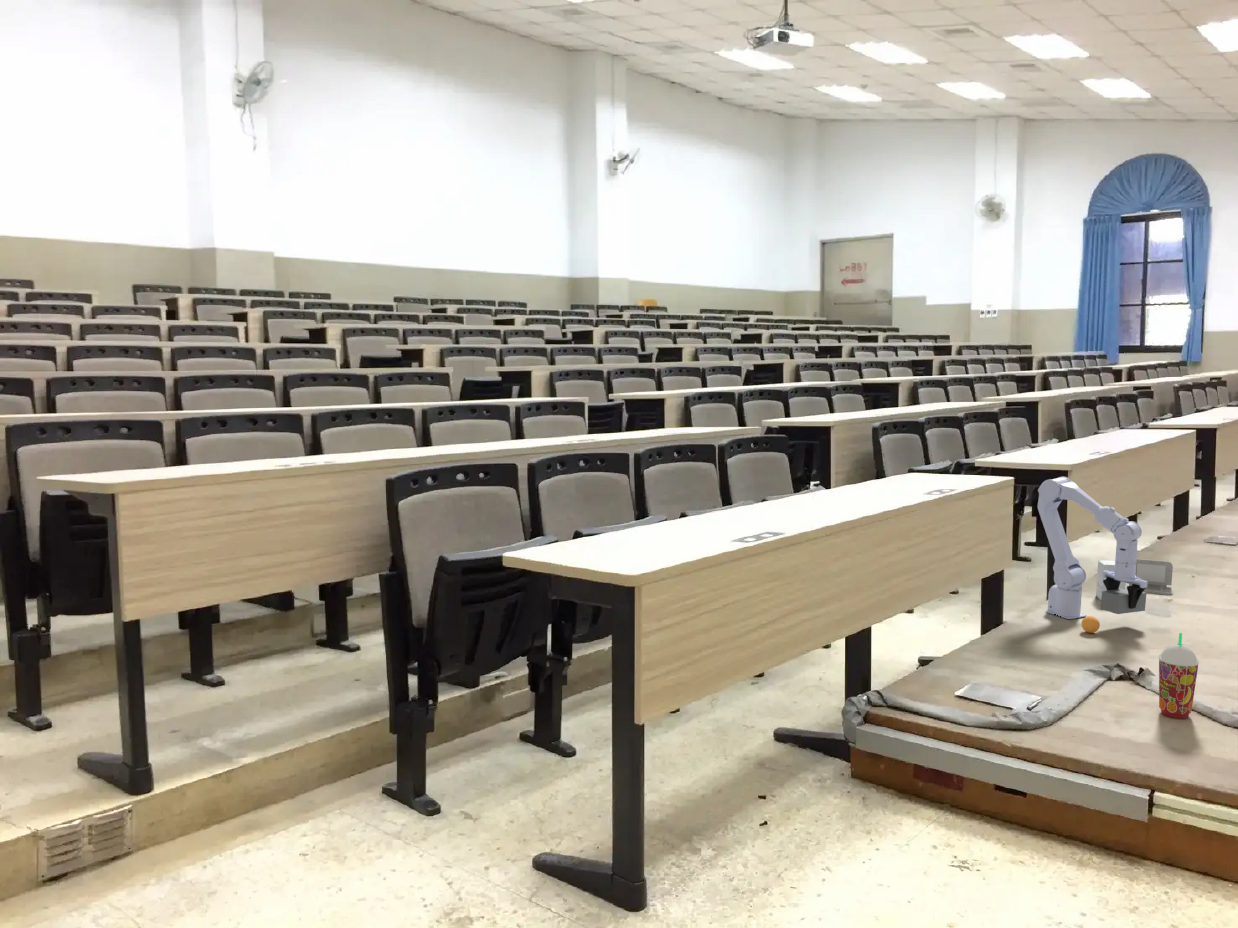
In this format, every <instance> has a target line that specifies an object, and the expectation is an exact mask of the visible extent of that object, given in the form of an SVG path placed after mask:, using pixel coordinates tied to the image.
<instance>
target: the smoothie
mask: <svg viewBox="0 0 1238 928" xmlns="http://www.w3.org/2000/svg"><path fill="white" fill-rule="evenodd" d="M1182 641H1183V633H1182V632H1179V633H1178V643H1173V644H1169V645H1168V646H1166V647H1165V648H1164V649H1163V650H1162V652H1161V653H1160V654H1159V656H1158V707H1159V709H1160V711H1161V712H1160V713H1161V714H1162V715H1164V716H1166V717H1168V718H1171V719H1177V720H1178V719H1179V720H1180V719H1182V720H1184V719H1187V718H1189V715H1190V714H1191V713H1192V710H1193V704H1194V697H1195V689H1196V684H1197V675H1198V669H1199V665H1200V661H1199V660H1198V657H1197V654H1196V653H1195V651H1193V649H1192V648H1190V647H1189V646H1187V645H1185V644H1182V643H1183V642H1182Z"/></svg>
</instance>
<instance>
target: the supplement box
mask: <svg viewBox="0 0 1238 928" xmlns="http://www.w3.org/2000/svg"><path fill="white" fill-rule="evenodd" d="M1106 570H1108V571H1112V572H1115V560H1108V559H1107V560H1106V559H1104V560H1103V559H1102V560H1100V559H1098V560H1097V570H1096V571H1097V573H1096V575H1097V576H1096V589H1095V591H1096V593H1095V597H1097V598H1098V599H1099V600H1100V601H1101V597H1102V591H1107V589H1106V587H1105V585H1104V583H1103V580H1106V578H1104V577H1102V571H1106ZM1126 585H1127V583H1125V582H1121V583H1120V585H1119V589H1125V588H1126Z"/></svg>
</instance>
